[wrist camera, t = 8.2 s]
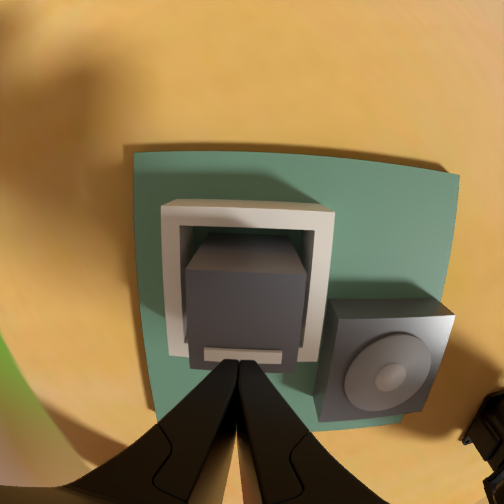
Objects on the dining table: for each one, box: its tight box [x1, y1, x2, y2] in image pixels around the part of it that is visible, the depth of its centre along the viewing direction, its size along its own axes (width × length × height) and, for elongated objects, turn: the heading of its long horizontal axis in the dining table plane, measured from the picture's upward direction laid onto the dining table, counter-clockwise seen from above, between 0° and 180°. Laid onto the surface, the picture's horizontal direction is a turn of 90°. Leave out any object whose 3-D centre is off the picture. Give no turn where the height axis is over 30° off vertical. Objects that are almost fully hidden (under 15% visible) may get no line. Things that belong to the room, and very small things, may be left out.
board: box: [133, 151, 460, 432], centre depth 18 cm, size 18×18×1 cm
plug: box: [185, 232, 307, 373], centre depth 14 cm, size 4×4×6 cm
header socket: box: [161, 199, 335, 362], centre depth 15 cm, size 7×7×3 cm
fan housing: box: [313, 298, 455, 423], centre depth 17 cm, size 7×7×3 cm
